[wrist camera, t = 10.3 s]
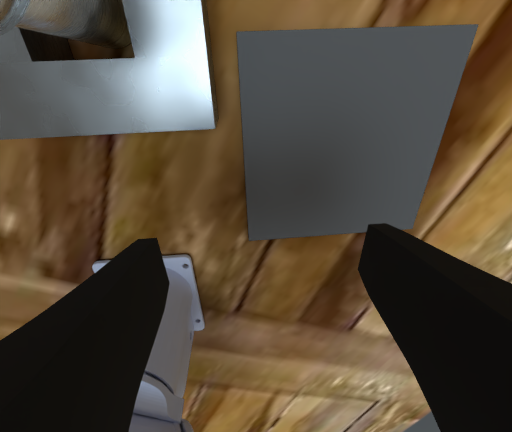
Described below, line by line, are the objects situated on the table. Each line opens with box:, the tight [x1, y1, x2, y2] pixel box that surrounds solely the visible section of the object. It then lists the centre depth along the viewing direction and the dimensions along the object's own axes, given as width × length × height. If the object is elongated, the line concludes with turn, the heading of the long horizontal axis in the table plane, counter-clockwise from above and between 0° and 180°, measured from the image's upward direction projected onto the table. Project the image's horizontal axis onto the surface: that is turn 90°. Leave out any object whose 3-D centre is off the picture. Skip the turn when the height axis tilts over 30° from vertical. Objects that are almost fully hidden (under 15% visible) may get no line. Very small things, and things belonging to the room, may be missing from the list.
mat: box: [237, 24, 478, 241], centre depth 18 cm, size 14×14×1 cm
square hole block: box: [0, 0, 218, 140], centre depth 12 cm, size 11×11×4 cm
